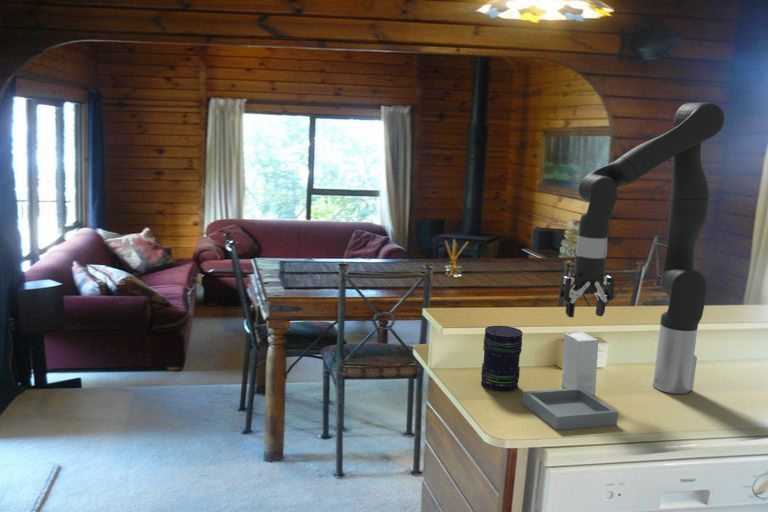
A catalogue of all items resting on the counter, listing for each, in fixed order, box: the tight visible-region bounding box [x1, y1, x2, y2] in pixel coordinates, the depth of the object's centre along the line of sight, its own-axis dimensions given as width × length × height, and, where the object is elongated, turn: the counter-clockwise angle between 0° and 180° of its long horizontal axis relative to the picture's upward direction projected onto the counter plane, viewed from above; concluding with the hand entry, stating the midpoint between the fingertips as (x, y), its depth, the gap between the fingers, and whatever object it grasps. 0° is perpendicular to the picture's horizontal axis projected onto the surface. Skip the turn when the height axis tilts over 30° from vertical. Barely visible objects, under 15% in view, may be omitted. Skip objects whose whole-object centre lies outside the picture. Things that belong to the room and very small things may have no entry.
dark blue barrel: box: [480, 325, 524, 393], centre depth 194 cm, size 10×10×15 cm
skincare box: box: [561, 331, 599, 397], centre depth 193 cm, size 8×6×15 cm
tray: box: [522, 388, 619, 431], centre depth 177 cm, size 16×16×3 cm
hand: (584, 316), depth 190 cm, fingers open, 8 cm apart
